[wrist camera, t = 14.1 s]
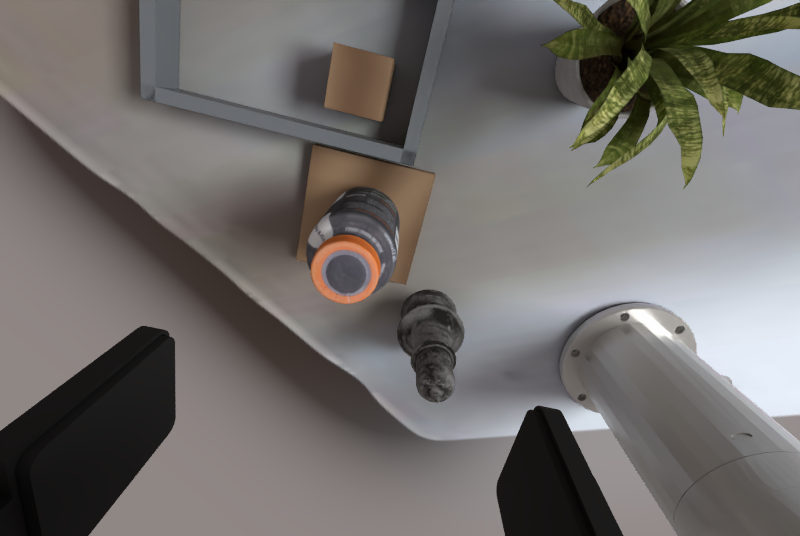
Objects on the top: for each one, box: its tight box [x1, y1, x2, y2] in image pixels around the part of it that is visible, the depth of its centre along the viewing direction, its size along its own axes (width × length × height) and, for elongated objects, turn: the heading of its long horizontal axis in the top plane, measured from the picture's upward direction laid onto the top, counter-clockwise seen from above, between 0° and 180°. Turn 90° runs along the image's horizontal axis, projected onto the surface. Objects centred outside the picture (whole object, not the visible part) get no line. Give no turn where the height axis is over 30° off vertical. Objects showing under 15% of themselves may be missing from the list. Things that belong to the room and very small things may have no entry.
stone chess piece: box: [397, 290, 464, 403], centre depth 31 cm, size 6×6×12 cm
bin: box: [139, 0, 454, 166], centre depth 27 cm, size 20×13×3 cm, turn 76°
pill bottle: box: [306, 187, 400, 304], centre depth 27 cm, size 6×6×11 cm
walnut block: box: [324, 42, 395, 122], centre depth 28 cm, size 4×4×4 cm
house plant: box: [541, 0, 800, 189], centre depth 21 cm, size 14×14×16 cm
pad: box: [296, 144, 435, 285], centre depth 33 cm, size 10×10×1 cm
